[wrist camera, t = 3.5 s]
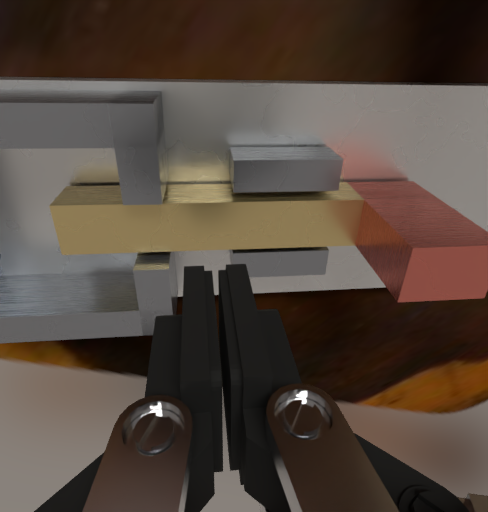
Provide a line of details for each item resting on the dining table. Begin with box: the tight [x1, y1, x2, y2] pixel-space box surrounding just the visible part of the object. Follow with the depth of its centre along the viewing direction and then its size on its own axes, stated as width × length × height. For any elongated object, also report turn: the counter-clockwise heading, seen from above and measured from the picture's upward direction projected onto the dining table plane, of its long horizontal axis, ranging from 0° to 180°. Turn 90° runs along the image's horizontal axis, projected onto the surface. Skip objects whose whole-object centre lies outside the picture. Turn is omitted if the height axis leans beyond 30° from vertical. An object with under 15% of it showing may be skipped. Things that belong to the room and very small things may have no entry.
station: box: [0, 77, 488, 343], centre depth 16 cm, size 28×10×4 cm, turn 89°
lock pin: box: [49, 181, 488, 302], centre depth 14 cm, size 14×2×6 cm, turn 89°
